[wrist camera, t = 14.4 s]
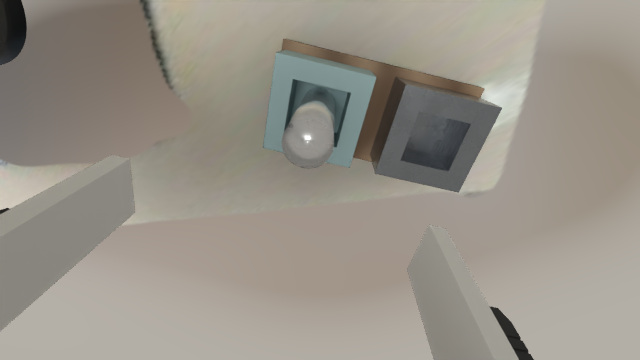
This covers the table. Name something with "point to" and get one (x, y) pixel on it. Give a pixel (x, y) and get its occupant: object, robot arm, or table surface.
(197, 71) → the table surface
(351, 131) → the teal square holder
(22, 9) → the robot arm
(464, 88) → the tool board
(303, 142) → the translucent peg
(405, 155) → the socket block
